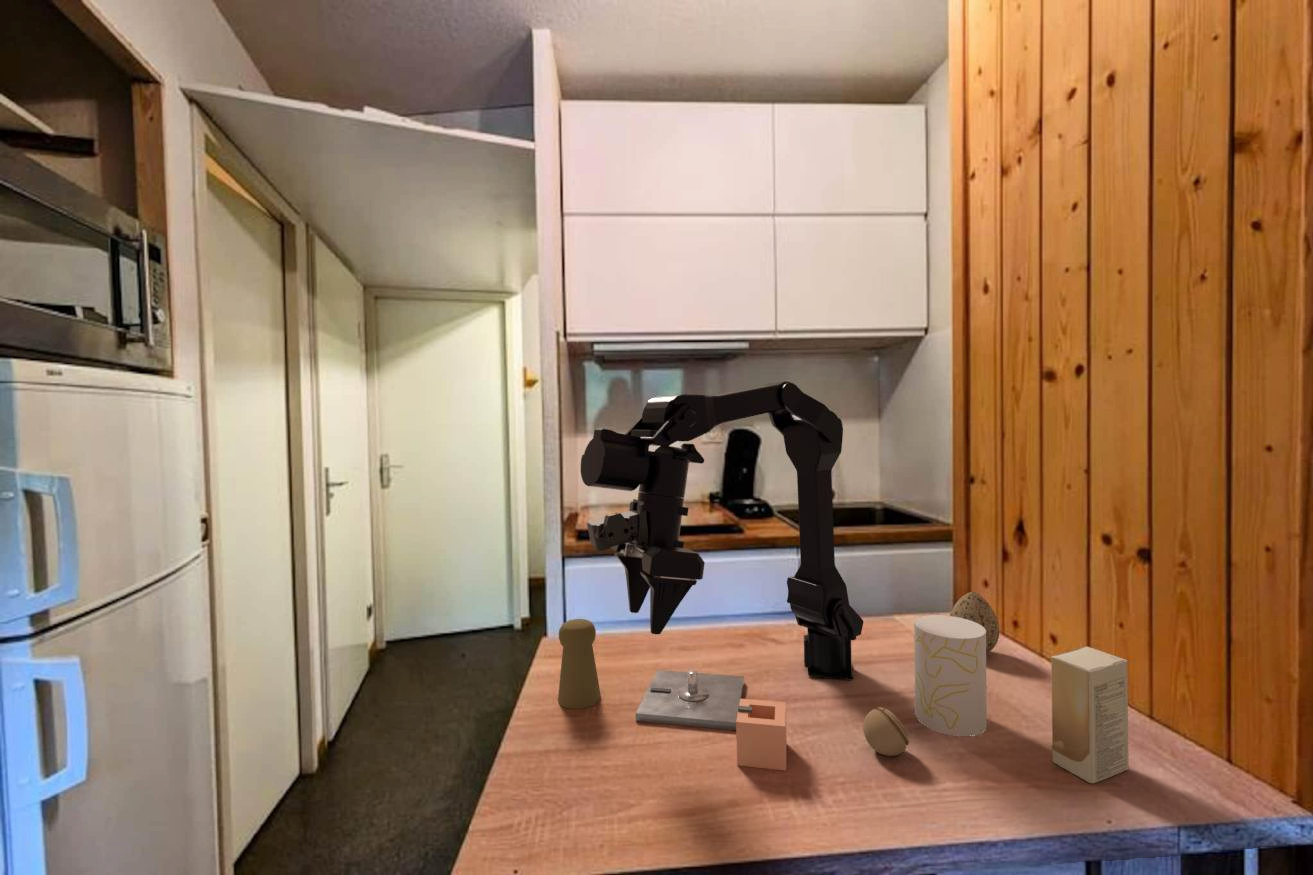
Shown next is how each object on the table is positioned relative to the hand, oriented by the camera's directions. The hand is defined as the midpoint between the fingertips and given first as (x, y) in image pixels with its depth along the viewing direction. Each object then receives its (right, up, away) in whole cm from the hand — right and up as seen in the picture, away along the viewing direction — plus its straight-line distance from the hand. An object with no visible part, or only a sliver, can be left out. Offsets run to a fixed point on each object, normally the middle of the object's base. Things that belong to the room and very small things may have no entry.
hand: (643, 622), depth 70 cm
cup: (+39, -14, +3) cm, 41 cm away
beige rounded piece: (+28, -14, -3) cm, 32 cm away
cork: (-9, -15, +11) cm, 21 cm away
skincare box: (+49, -14, -7) cm, 51 cm away
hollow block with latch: (+14, -14, -3) cm, 20 cm away
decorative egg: (+53, -12, +23) cm, 59 cm away
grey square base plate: (+7, -14, +10) cm, 18 cm away
